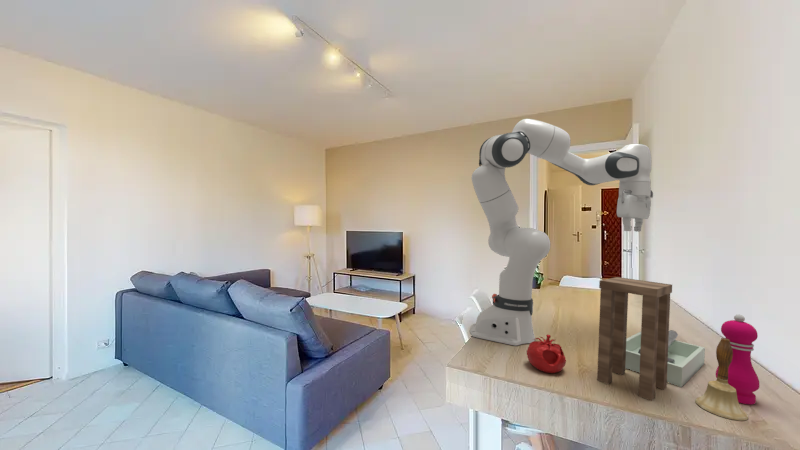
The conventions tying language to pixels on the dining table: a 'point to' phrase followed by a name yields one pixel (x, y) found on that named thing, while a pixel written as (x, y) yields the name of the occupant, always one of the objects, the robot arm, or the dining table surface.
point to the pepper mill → (741, 359)
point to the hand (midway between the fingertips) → (632, 231)
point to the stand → (651, 331)
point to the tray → (683, 353)
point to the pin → (670, 343)
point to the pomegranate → (546, 355)
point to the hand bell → (722, 388)
